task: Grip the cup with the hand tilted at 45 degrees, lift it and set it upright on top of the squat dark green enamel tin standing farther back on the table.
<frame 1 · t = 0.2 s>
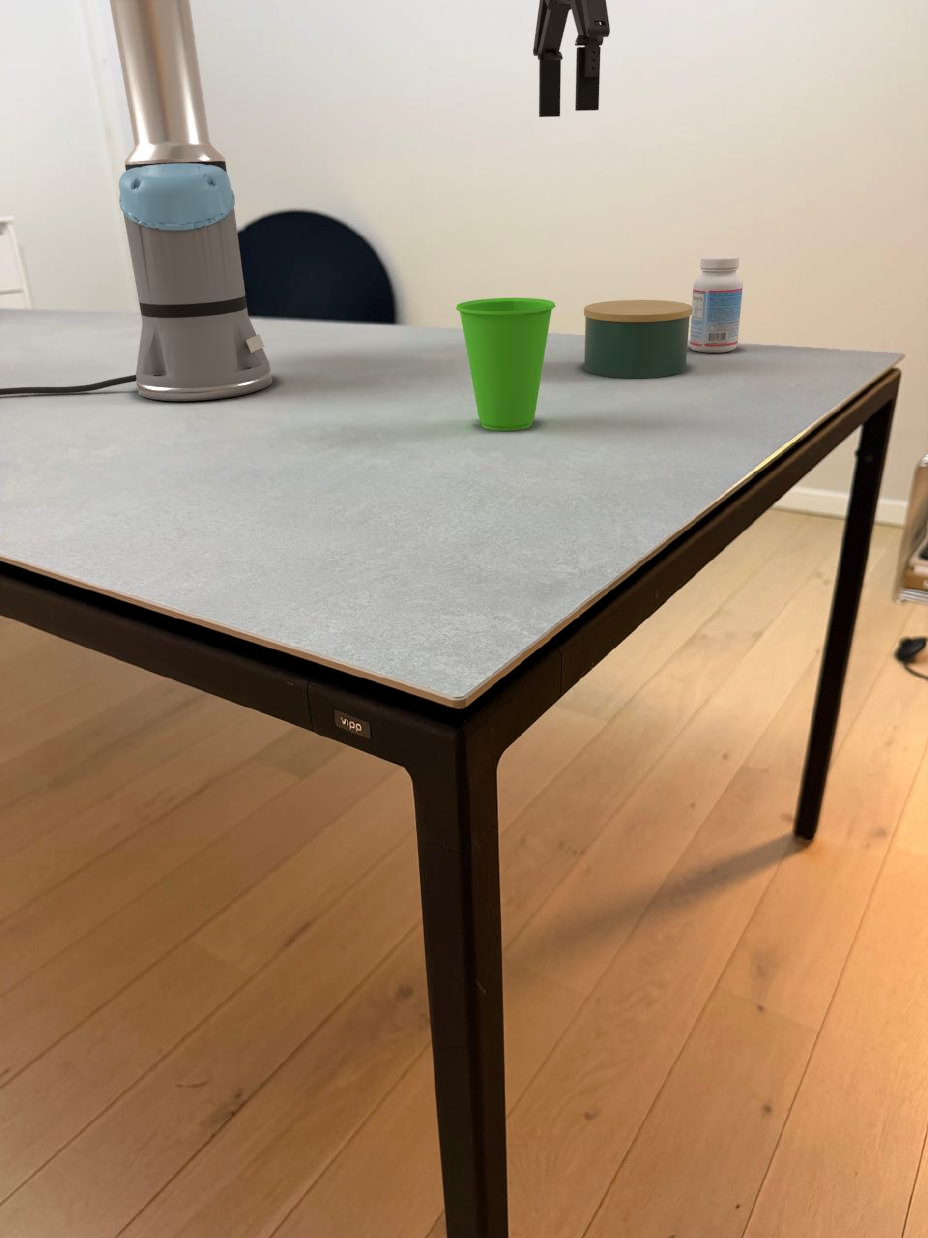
hand: (567, 113, 117), 28 cm above the table, tool pointing down, fingers open, 13 cm apart
tin: (634, 367, 110), on the table
pill bottle: (712, 350, 119), on the table
cup: (506, 426, 88), on the table
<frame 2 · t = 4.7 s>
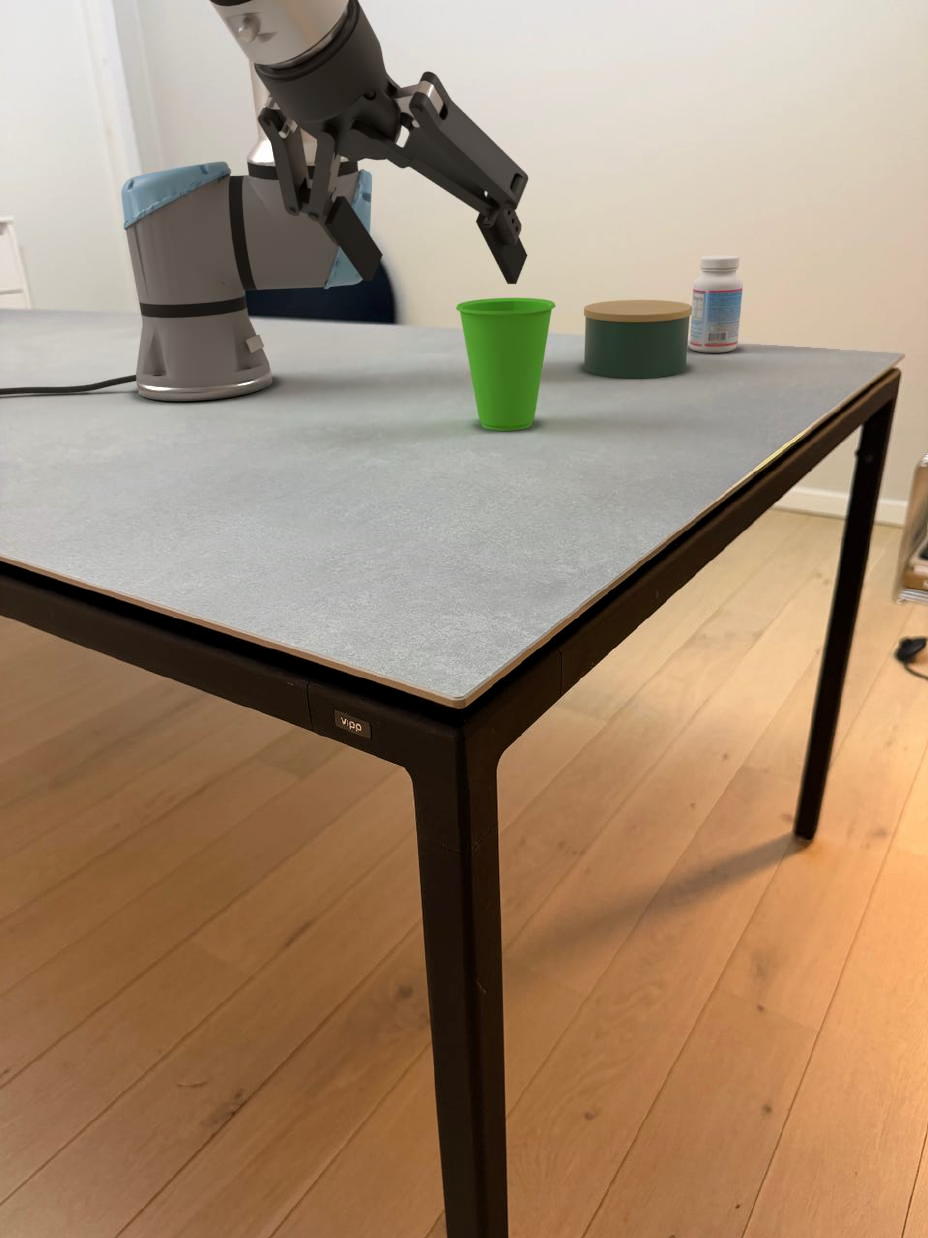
hand: (442, 268, 74), 15 cm above the table, tool tilted 45°, fingers open, 13 cm apart
nothing on the table moved.
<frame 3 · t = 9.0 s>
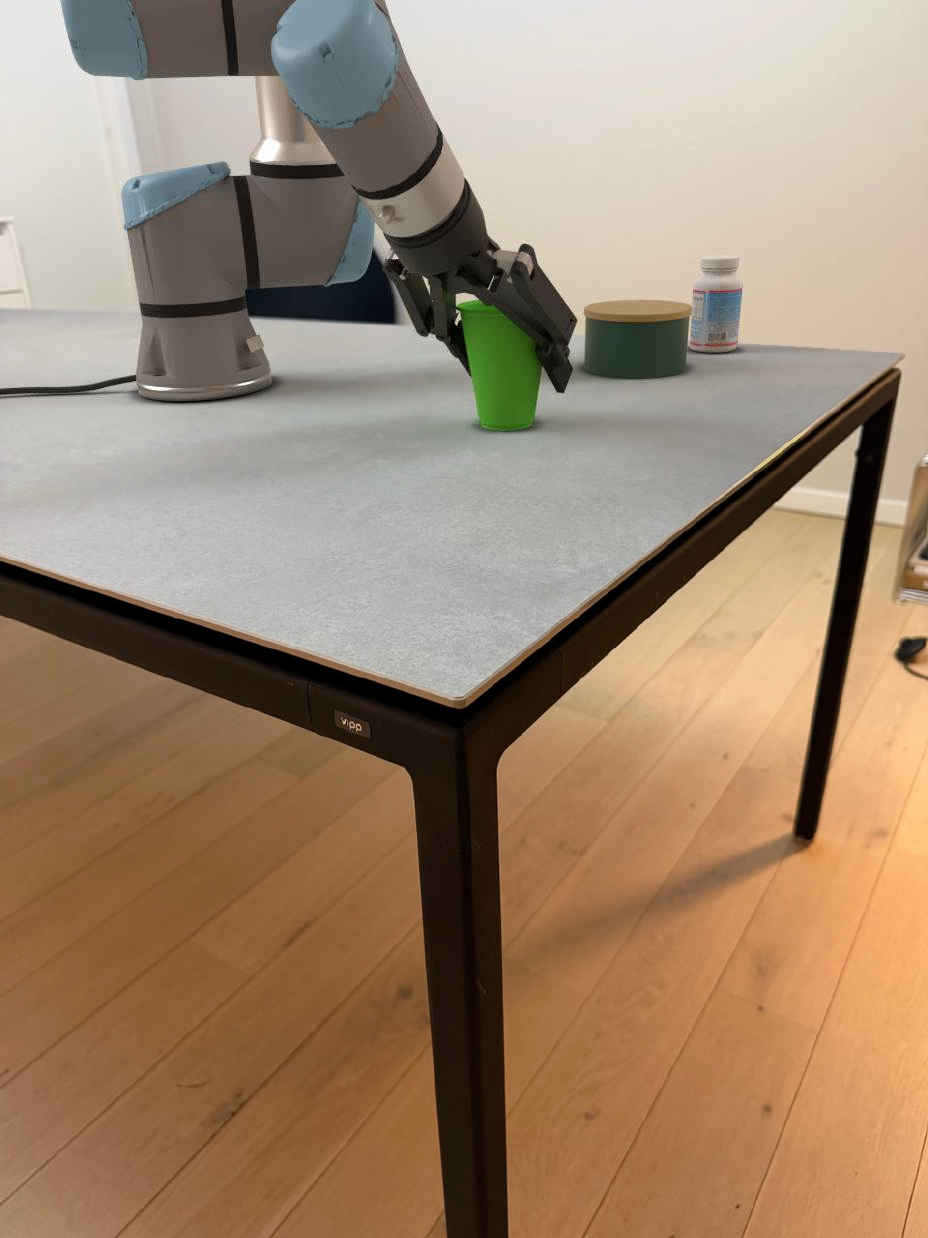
hand: (523, 376, 89), 4 cm above the table, tool tilted 45°, fingers closed on cup, 8 cm apart
cup: (506, 426, 88), on the table, touching gripper
everything else where it was.
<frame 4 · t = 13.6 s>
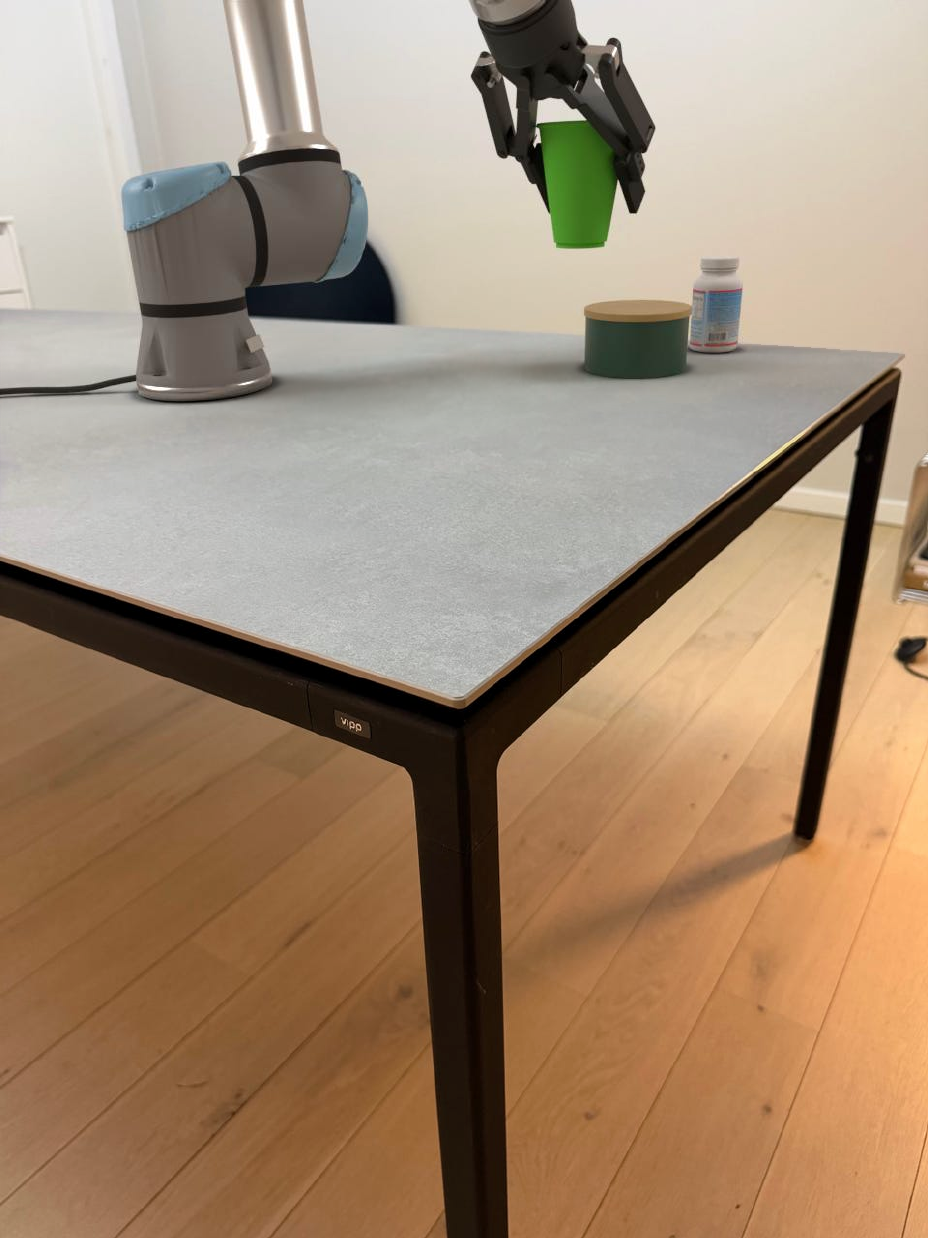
hand: (595, 202, 93), 19 cm above the table, tool tilted 45°, fingers closed on cup, 8 cm apart
cup: (580, 248, 92), point 15 cm above the table, touching gripper
everything else where it was.
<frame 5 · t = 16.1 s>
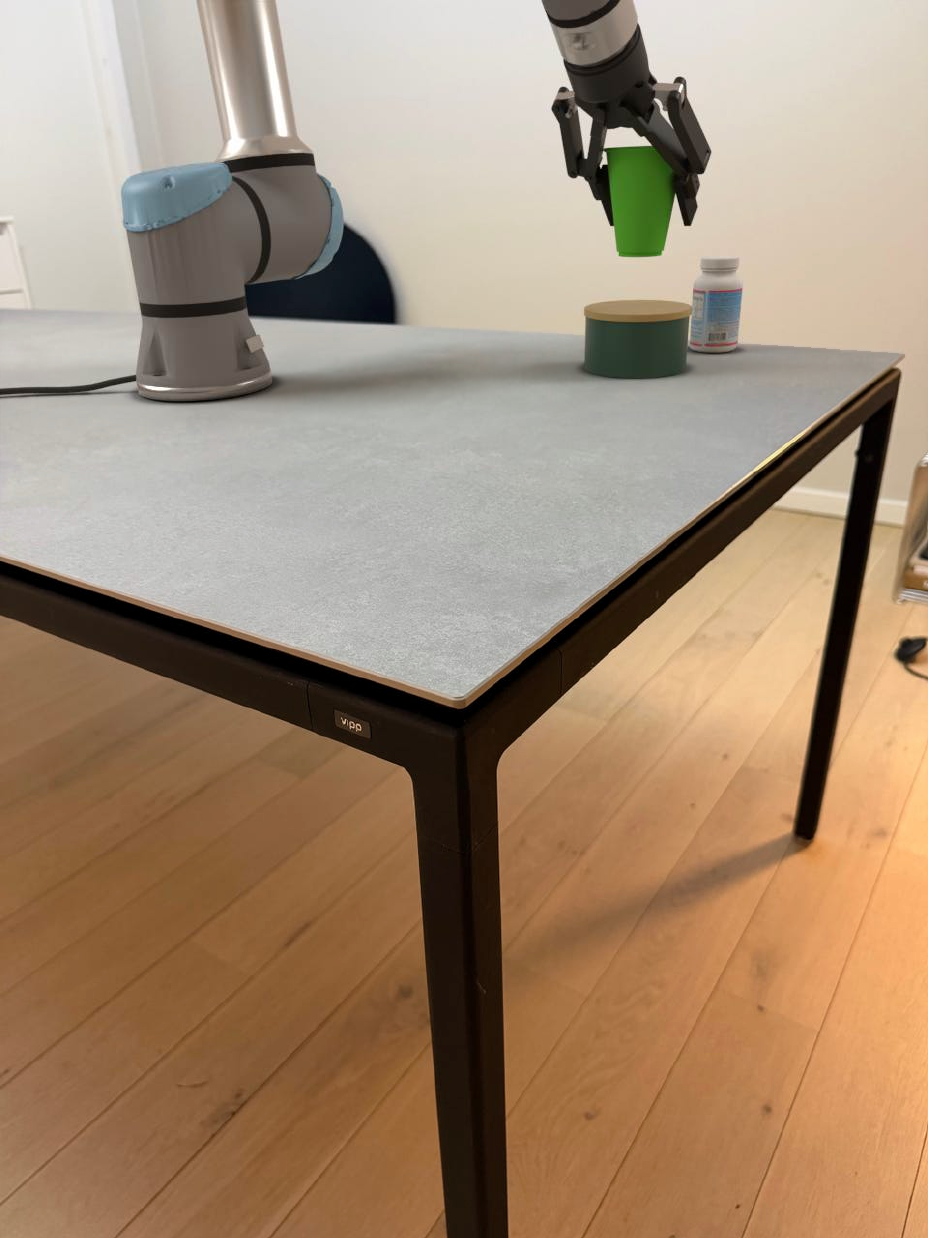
hand: (653, 216, 105), 17 cm above the table, tool tilted 45°, fingers closed on cup, 8 cm apart
cup: (639, 257, 105), point 12 cm above the table, touching gripper
everything else where it was.
when the fingers open (11 cm above the table, at t = 18.2 s): cup stays where it is, resting on tin.
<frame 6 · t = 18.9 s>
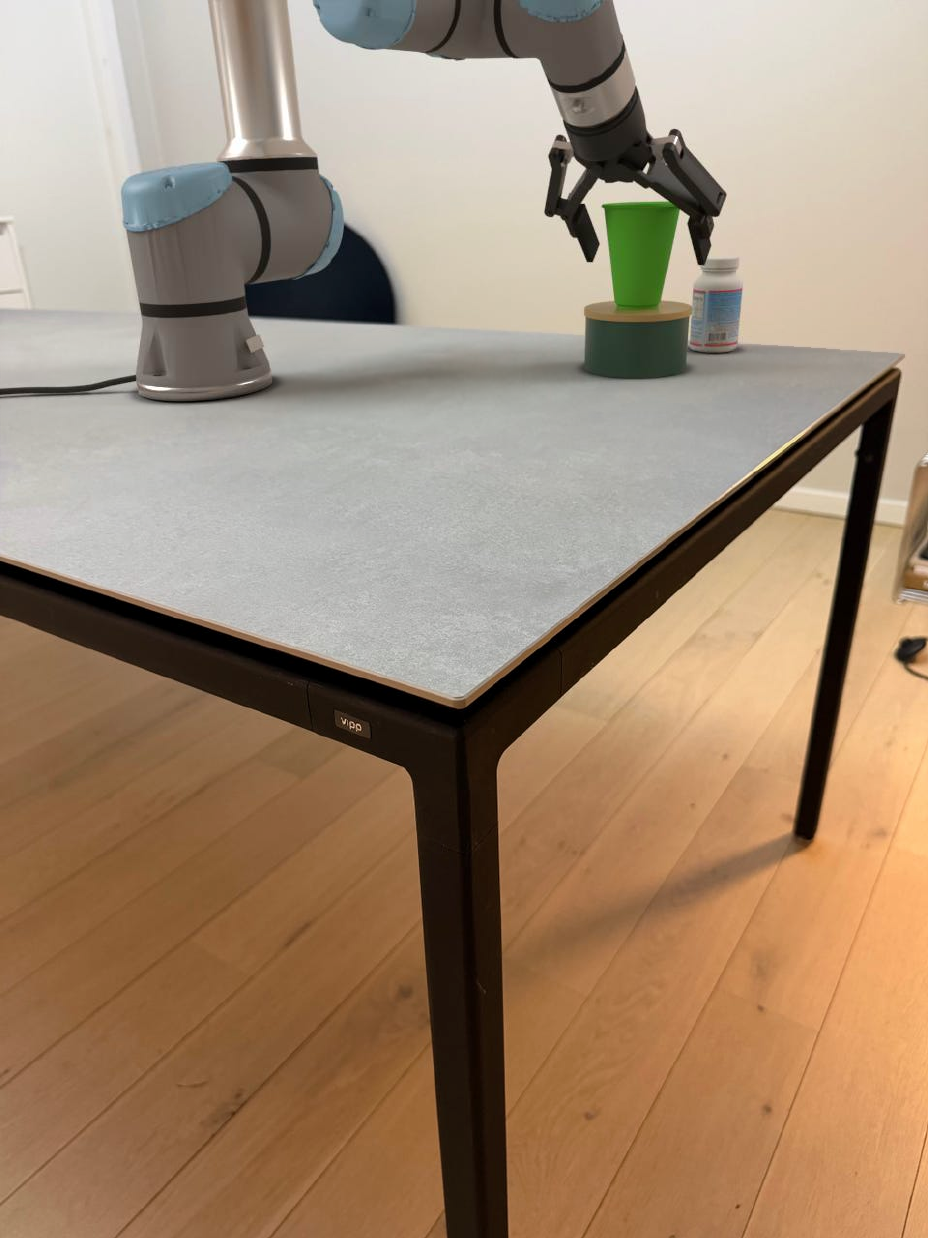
hand: (647, 254, 106), 13 cm above the table, tool tilted 45°, fingers open, 13 cm apart
cup: (637, 308, 107), point 7 cm above the table, touching tin
everything else where it was.
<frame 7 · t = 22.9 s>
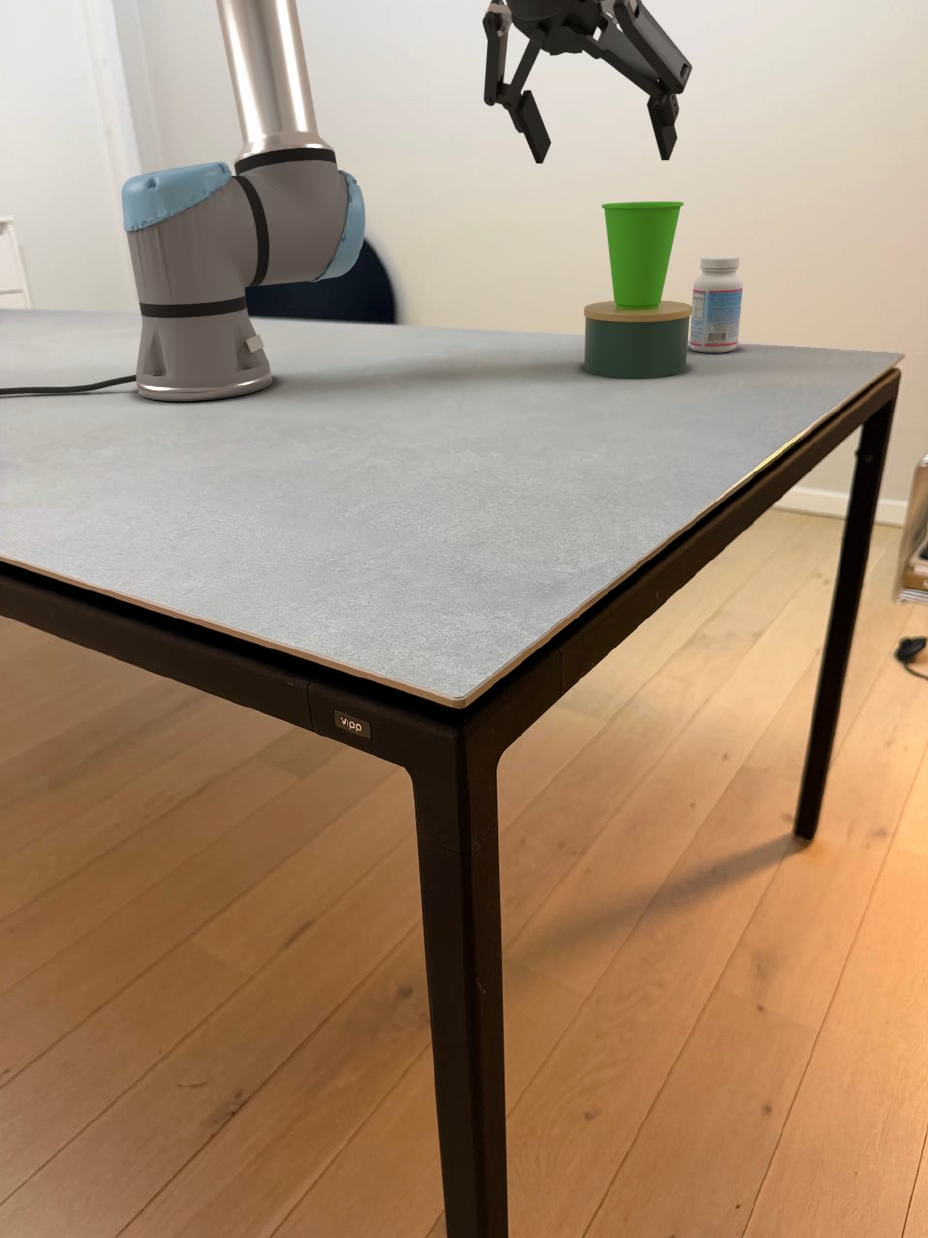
hand: (604, 151, 92), 23 cm above the table, tool tilted 45°, fingers open, 13 cm apart
nothing on the table moved.
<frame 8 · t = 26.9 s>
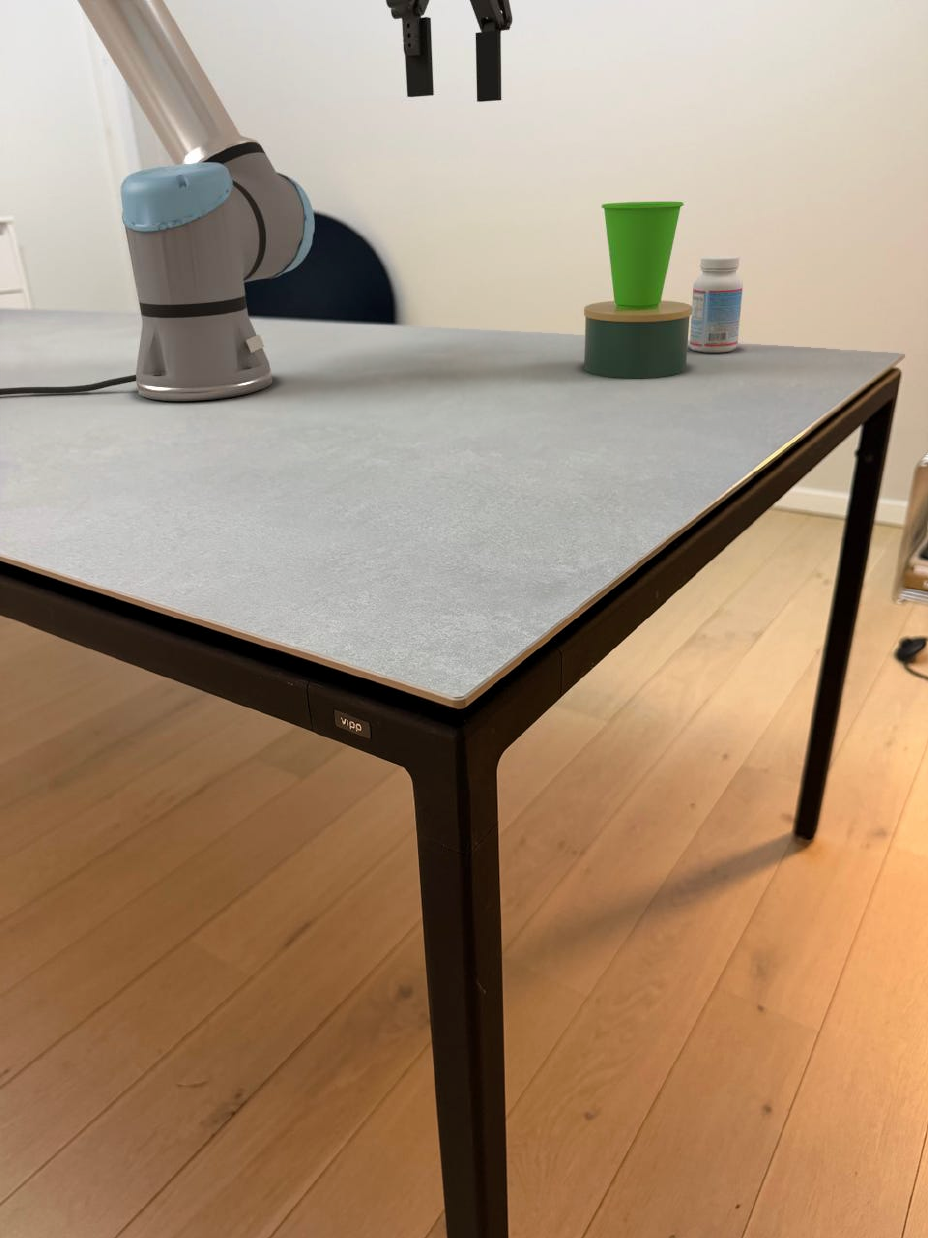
hand: (456, 98, 97), 29 cm above the table, tool pointing down, fingers open, 13 cm apart
nothing on the table moved.
at the end: cup 0.1 cm off-centre on the tin, point 6.8 cm above the tin's base; cup tilted 0°; the gripper is holding nothing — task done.
